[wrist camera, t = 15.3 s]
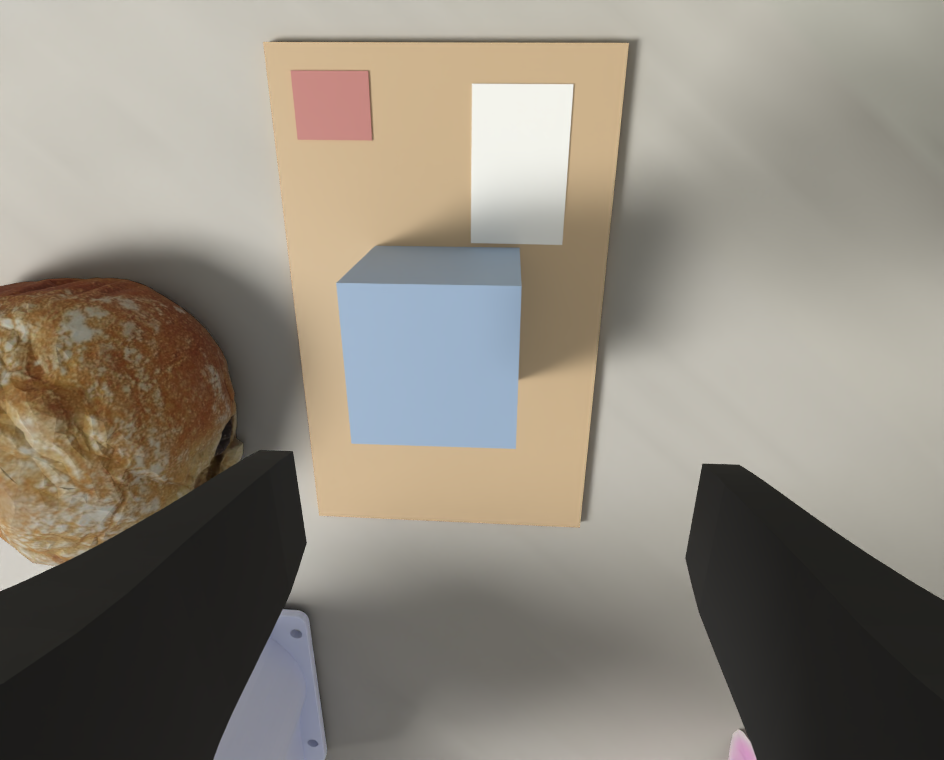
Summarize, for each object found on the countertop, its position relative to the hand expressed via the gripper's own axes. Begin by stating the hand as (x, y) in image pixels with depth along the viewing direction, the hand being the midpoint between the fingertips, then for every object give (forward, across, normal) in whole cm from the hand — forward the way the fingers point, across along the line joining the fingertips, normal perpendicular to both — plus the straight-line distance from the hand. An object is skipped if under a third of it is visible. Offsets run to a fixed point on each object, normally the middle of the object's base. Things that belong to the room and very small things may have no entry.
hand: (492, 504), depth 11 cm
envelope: (+10, +2, 0) cm, 10 cm away
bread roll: (+10, +14, +3) cm, 18 cm away
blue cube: (+10, +2, 0) cm, 10 cm away
